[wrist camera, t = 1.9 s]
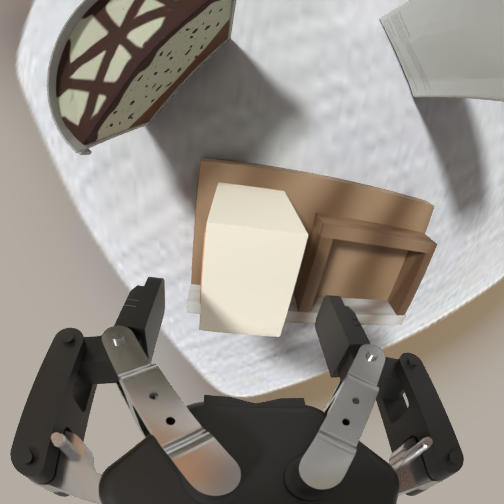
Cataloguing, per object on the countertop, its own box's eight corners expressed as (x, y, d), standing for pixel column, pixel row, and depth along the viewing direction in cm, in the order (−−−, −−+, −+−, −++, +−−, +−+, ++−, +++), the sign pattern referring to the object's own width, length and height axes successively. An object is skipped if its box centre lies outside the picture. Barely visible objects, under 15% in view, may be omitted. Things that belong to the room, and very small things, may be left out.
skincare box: (452, 88, 17) (578, 108, 4) (409, 98, 18) (551, 119, 5) (420, 10, 14) (536, -18, 1) (372, 14, 15) (493, -40, 2)
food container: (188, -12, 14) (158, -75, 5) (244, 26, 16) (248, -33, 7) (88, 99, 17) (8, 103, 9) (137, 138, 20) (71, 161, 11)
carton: (284, 191, 21) (308, 235, 14) (268, 270, 24) (279, 336, 17) (216, 182, 20) (203, 222, 13) (208, 263, 23) (196, 329, 16)
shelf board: (425, 200, 23) (449, 216, 19) (386, 302, 29) (400, 325, 25) (203, 157, 21) (195, 166, 17) (192, 287, 26) (186, 314, 23)
